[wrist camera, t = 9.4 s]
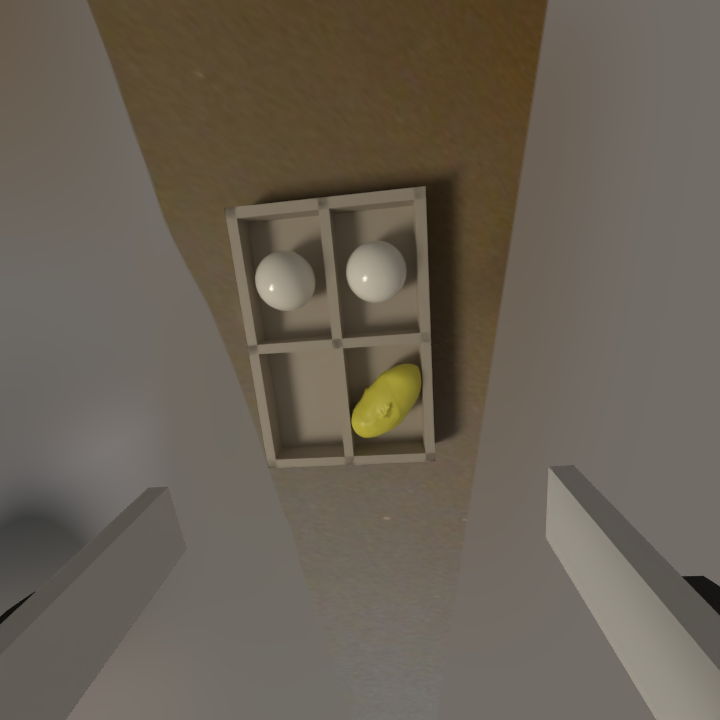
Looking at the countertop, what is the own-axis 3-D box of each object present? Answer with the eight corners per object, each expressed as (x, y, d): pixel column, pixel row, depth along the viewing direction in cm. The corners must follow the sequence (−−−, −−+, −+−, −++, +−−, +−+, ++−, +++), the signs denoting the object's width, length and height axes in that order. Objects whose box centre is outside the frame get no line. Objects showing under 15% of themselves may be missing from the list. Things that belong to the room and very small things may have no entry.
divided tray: (239, 214, 28) (224, 208, 25) (421, 195, 26) (425, 186, 24) (277, 452, 33) (268, 467, 30) (430, 445, 32) (435, 461, 29)
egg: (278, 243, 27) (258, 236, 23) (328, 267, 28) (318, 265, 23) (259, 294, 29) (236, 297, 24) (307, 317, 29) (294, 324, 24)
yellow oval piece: (340, 408, 31) (334, 427, 27) (401, 347, 29) (403, 357, 25) (373, 437, 31) (372, 459, 27) (435, 379, 29) (442, 394, 26)
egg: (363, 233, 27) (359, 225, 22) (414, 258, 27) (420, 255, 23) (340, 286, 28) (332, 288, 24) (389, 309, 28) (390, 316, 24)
